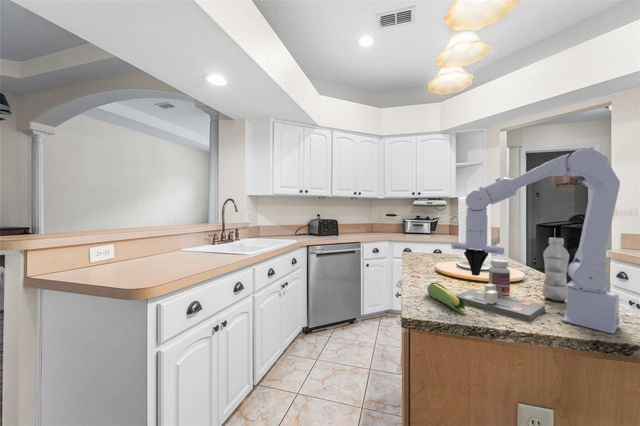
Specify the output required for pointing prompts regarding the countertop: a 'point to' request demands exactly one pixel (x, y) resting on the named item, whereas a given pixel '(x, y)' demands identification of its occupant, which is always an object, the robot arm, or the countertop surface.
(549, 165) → the robot arm
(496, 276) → the pill bottle
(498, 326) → the countertop surface
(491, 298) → the block
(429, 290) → the edible corn
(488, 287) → the block
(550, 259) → the plastic bottle
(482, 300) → the breaker panel
